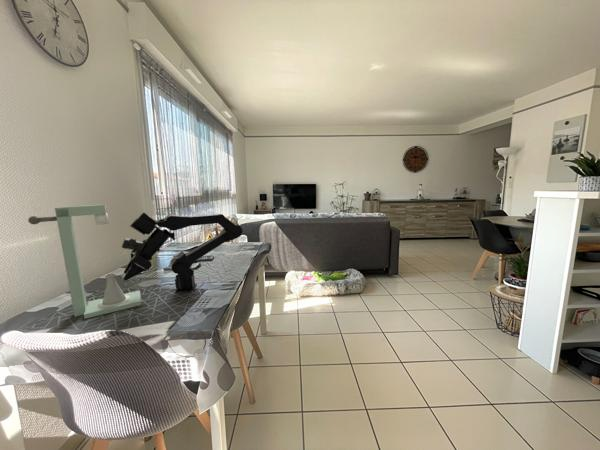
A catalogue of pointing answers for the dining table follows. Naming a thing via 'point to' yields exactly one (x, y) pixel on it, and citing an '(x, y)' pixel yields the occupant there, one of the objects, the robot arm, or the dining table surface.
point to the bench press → (73, 262)
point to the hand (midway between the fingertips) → (124, 276)
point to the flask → (112, 291)
